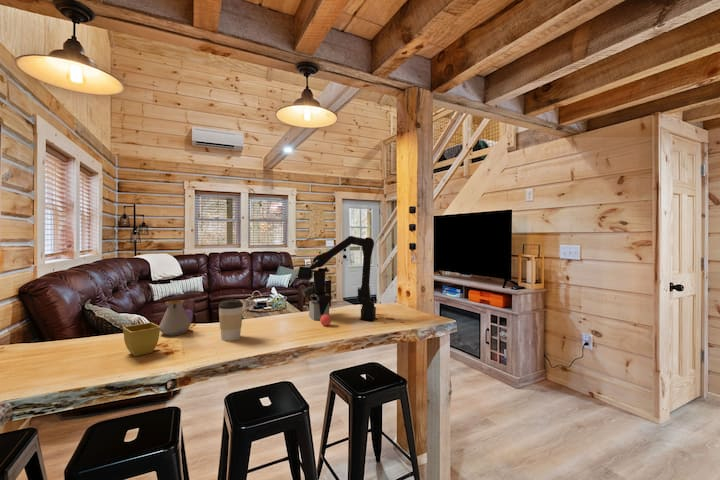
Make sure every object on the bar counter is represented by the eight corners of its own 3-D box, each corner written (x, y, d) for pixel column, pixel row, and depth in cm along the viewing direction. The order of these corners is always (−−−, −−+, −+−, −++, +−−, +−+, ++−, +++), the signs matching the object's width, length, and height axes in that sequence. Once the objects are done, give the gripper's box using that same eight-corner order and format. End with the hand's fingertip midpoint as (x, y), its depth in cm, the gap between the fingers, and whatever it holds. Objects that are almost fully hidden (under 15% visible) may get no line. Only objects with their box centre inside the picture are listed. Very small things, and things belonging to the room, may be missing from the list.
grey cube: (323, 315, 166) (324, 299, 166) (329, 318, 159) (329, 302, 159) (309, 316, 163) (309, 301, 163) (313, 320, 156) (314, 304, 156)
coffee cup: (217, 336, 131) (218, 298, 131) (241, 333, 135) (242, 297, 135) (218, 343, 123) (218, 303, 123) (244, 340, 127) (244, 301, 127)
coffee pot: (159, 330, 137) (159, 294, 137) (190, 327, 143) (190, 292, 142) (155, 346, 118) (155, 305, 118) (191, 342, 124) (191, 302, 123)
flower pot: (151, 346, 118) (151, 321, 118) (160, 352, 113) (160, 326, 113) (122, 353, 111) (122, 327, 111) (130, 360, 106) (130, 332, 106)
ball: (333, 325, 149) (333, 314, 149) (326, 327, 145) (326, 316, 144) (324, 323, 151) (324, 312, 151) (317, 325, 147) (317, 314, 147)
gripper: (298, 279, 166) (298, 309, 166) (309, 284, 149) (308, 318, 149) (319, 278, 171) (319, 308, 171) (332, 283, 154) (331, 316, 154)
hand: (319, 312), depth 161 cm, fingers closed on grey cube, 8 cm apart
